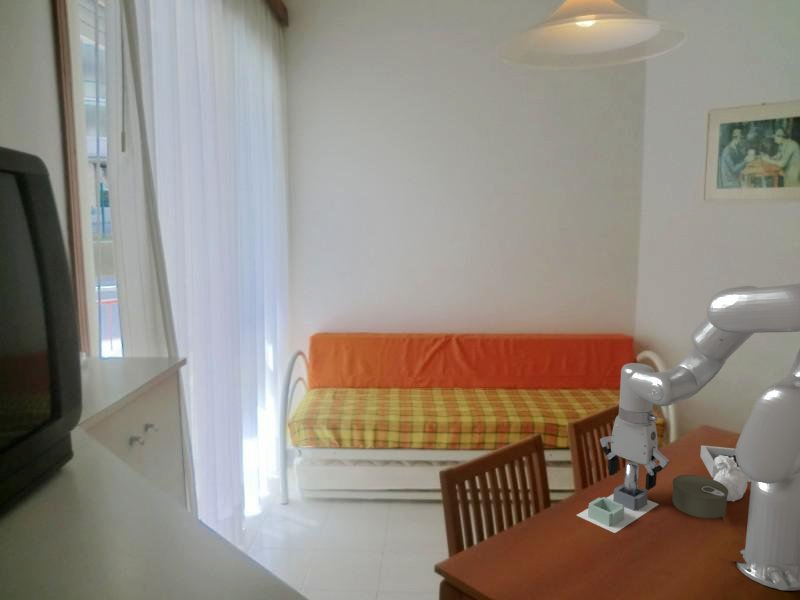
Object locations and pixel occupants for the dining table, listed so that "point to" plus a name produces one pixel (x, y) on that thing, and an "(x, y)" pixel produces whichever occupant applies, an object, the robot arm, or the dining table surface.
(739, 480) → the bust
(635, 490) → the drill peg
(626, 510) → the tool board
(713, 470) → the controller tray
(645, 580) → the dining table surface
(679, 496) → the can
